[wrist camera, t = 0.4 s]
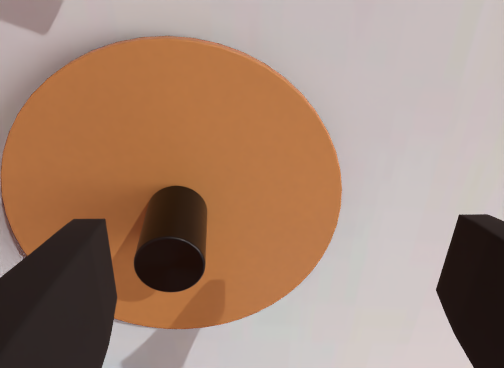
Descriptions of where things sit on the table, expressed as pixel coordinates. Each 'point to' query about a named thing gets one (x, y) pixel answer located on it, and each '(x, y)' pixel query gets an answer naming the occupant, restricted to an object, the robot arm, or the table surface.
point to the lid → (178, 176)
